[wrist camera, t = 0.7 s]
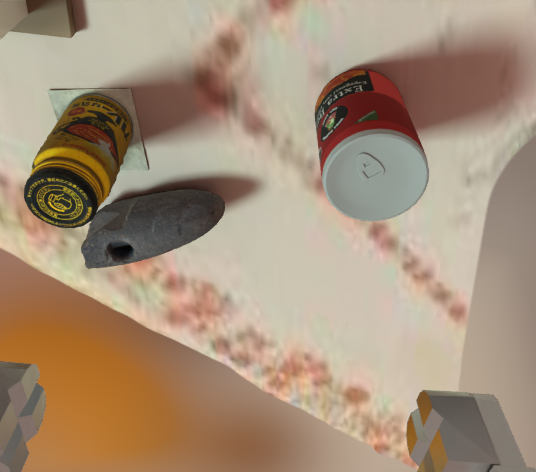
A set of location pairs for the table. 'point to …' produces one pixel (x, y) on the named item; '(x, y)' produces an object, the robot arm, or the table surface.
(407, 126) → the canned food
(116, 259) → the perforated stone tool
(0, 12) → the cream tile
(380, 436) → the table surface
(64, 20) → the walnut board
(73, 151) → the condiment
